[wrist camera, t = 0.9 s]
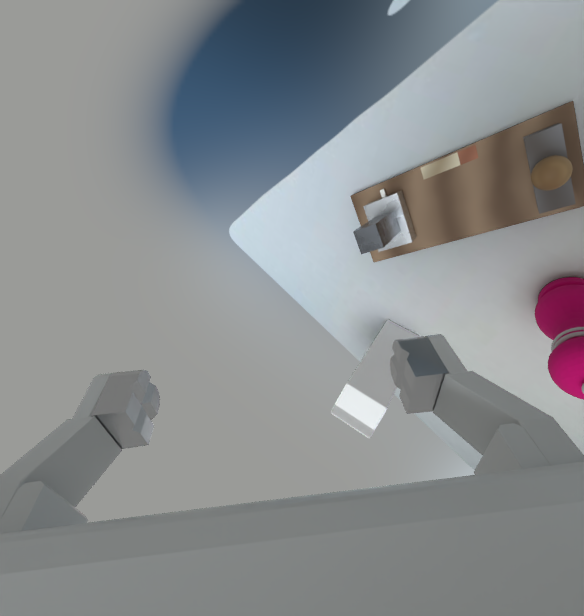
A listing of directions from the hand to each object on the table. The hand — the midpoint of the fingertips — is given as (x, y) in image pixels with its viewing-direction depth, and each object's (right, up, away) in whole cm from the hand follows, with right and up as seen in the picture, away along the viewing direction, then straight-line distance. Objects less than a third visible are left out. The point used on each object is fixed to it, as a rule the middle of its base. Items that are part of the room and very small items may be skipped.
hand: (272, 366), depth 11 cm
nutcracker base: (+22, +17, +33) cm, 43 cm away
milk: (+19, -4, +47) cm, 51 cm away
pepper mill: (+37, +3, +31) cm, 48 cm away
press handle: (+15, +15, +36) cm, 42 cm away
